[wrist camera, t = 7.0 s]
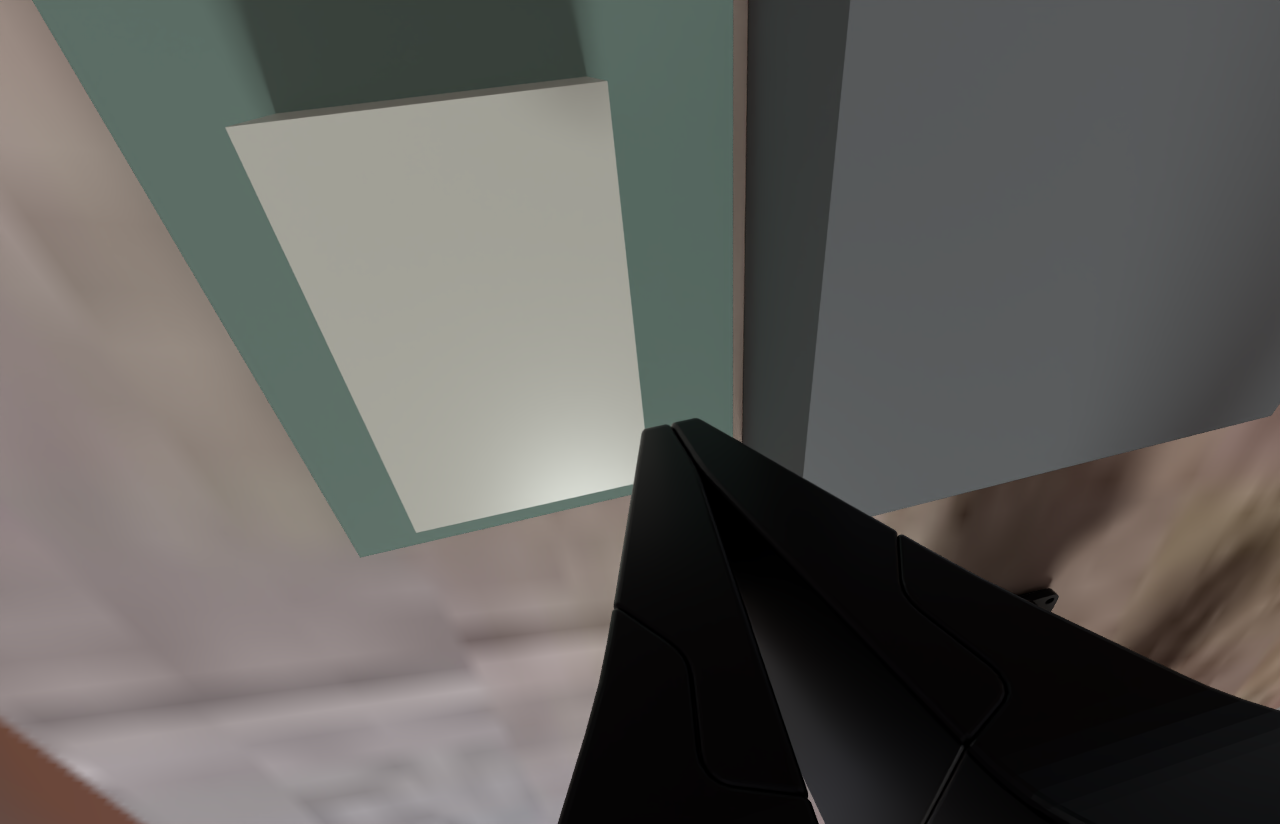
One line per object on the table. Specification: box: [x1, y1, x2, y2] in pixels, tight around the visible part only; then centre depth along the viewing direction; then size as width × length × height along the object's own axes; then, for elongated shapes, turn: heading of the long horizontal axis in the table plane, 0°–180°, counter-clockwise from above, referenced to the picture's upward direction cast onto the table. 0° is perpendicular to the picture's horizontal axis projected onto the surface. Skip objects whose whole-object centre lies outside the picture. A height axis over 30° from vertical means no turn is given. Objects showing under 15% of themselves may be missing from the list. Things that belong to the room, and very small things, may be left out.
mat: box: [32, 0, 733, 557], centre depth 13 cm, size 14×12×1 cm
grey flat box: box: [743, 0, 1280, 516], centre depth 14 cm, size 13×16×4 cm
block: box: [225, 76, 645, 533], centre depth 12 cm, size 9×6×2 cm, turn 5°
